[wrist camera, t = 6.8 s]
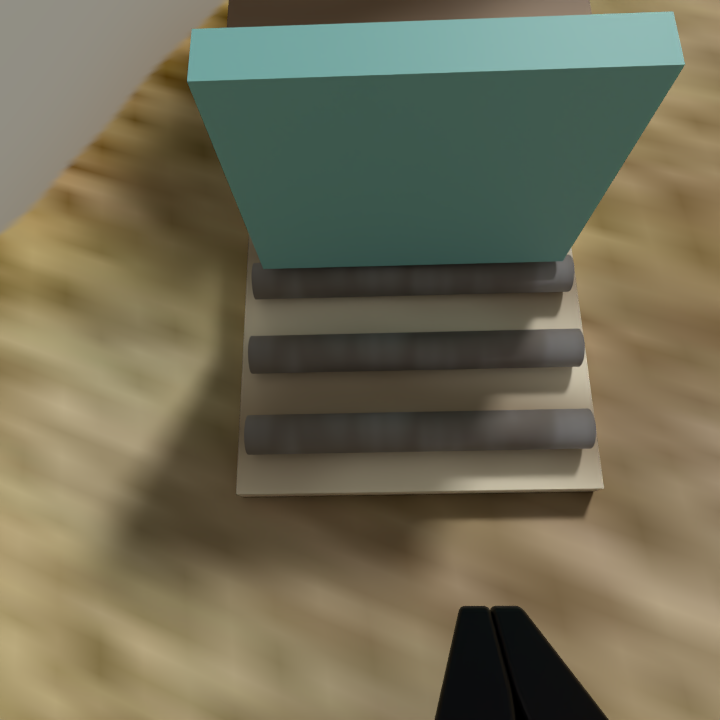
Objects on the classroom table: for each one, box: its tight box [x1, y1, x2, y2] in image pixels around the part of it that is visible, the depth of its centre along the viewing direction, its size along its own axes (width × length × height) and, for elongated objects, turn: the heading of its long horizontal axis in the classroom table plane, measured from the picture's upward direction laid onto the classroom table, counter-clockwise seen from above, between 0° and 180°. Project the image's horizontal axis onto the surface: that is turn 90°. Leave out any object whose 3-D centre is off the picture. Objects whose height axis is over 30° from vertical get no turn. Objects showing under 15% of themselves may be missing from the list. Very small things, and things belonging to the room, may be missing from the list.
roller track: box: [227, 0, 604, 497], centre depth 22 cm, size 18×13×6 cm
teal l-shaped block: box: [187, 12, 685, 269], centre depth 19 cm, size 7×11×9 cm, turn 91°
